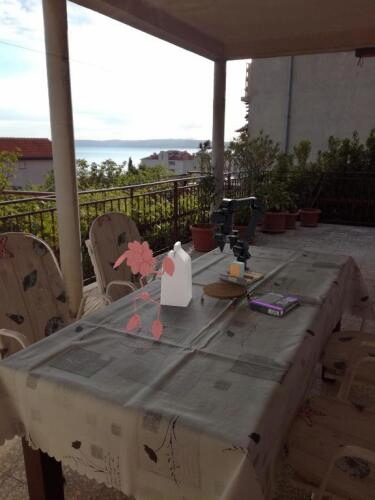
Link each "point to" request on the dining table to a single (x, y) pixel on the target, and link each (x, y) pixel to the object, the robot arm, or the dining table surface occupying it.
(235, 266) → the carton
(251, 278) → the shelf
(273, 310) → the box
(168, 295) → the milk
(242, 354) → the dining table surface
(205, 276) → the dining table surface
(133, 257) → the figurine
